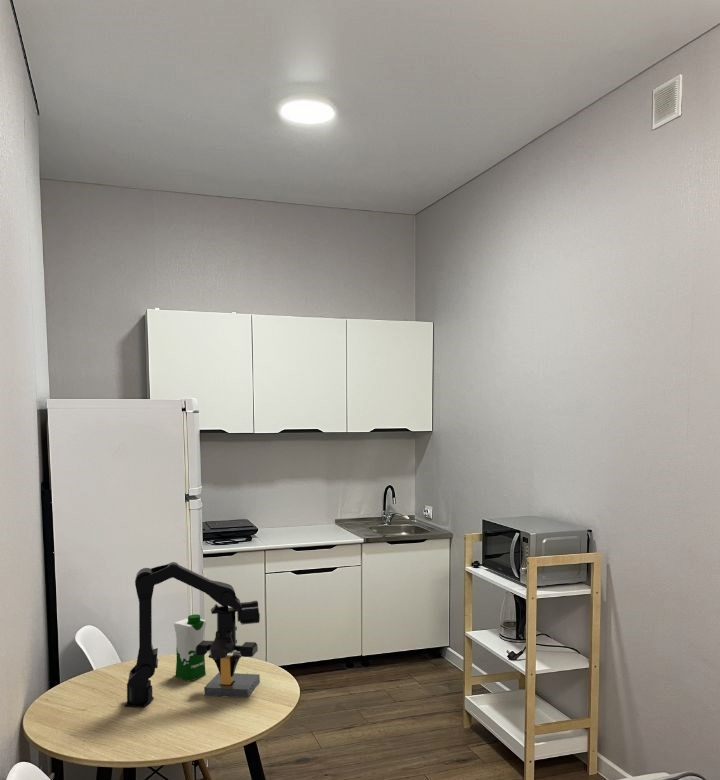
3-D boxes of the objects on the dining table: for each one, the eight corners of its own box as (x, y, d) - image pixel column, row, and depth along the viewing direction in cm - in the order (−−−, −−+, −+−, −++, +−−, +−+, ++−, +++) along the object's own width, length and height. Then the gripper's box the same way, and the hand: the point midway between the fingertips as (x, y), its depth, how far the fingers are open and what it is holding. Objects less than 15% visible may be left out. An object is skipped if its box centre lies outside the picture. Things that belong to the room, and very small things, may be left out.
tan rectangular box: (220, 684, 209) (220, 658, 209) (224, 680, 212) (223, 655, 212) (230, 684, 209) (229, 658, 209) (233, 681, 212) (233, 655, 212)
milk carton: (189, 682, 218) (188, 620, 218) (171, 677, 223) (170, 616, 224) (209, 674, 225) (208, 613, 226) (191, 668, 230) (191, 609, 231)
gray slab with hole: (204, 695, 207) (204, 687, 207) (218, 680, 219) (218, 672, 219) (247, 697, 205) (247, 689, 205) (259, 682, 217) (259, 674, 217)
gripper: (187, 633, 205) (188, 685, 204) (246, 635, 202) (247, 687, 201) (202, 622, 216) (202, 671, 215) (257, 623, 213) (258, 673, 212)
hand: (227, 676), depth 210 cm, fingers closed on tan rectangular box, 3 cm apart
